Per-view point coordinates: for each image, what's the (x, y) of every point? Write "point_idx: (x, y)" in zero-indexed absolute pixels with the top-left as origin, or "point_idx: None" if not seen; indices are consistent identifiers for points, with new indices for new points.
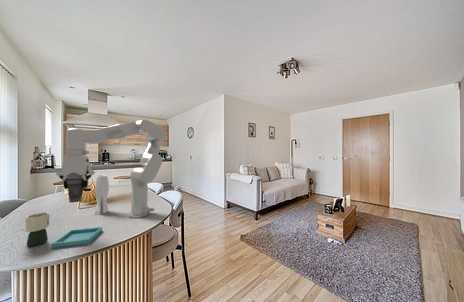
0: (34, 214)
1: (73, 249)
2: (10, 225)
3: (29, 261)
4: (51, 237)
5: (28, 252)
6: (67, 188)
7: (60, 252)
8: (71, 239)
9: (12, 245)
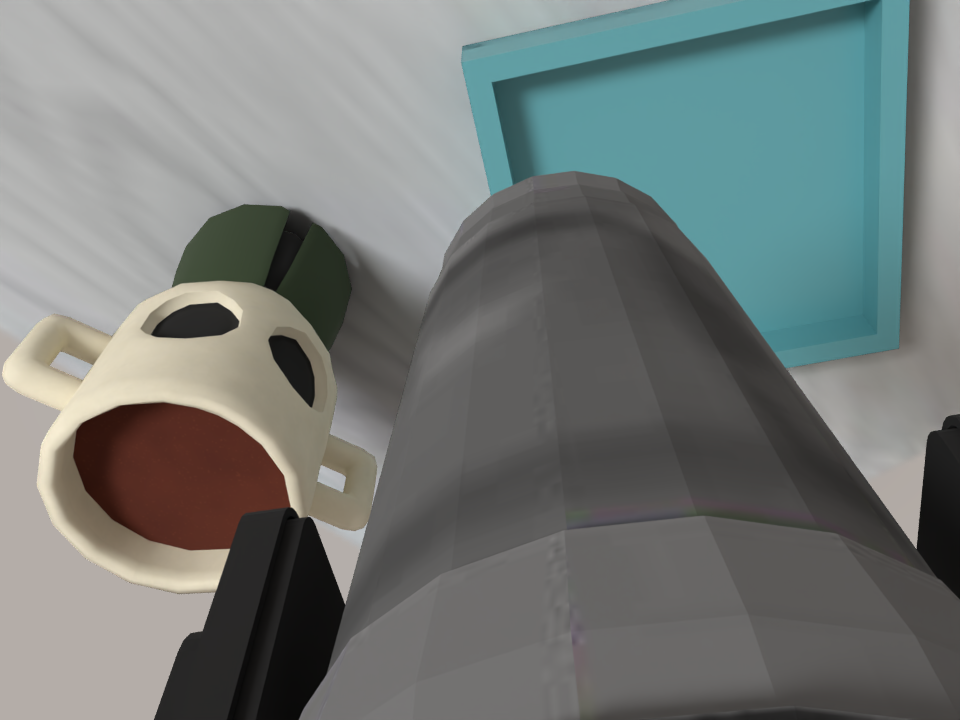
0: (58, 456)
1: None
2: None
3: None
4: (276, 132)
5: (376, 426)
6: (331, 600)
7: None
8: None
9: (35, 298)
